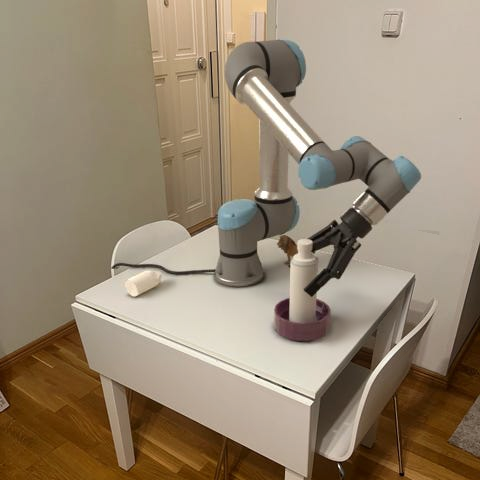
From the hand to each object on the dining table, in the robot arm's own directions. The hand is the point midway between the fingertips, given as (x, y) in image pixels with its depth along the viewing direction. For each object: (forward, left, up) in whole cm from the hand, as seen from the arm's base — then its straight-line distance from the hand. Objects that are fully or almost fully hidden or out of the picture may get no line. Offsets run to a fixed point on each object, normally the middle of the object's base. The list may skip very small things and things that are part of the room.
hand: (299, 281), depth 121 cm
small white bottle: (-48, +14, -14) cm, 52 cm away
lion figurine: (-6, +39, -14) cm, 42 cm away
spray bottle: (+1, 0, -13) cm, 13 cm away
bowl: (+1, 0, -14) cm, 14 cm away
